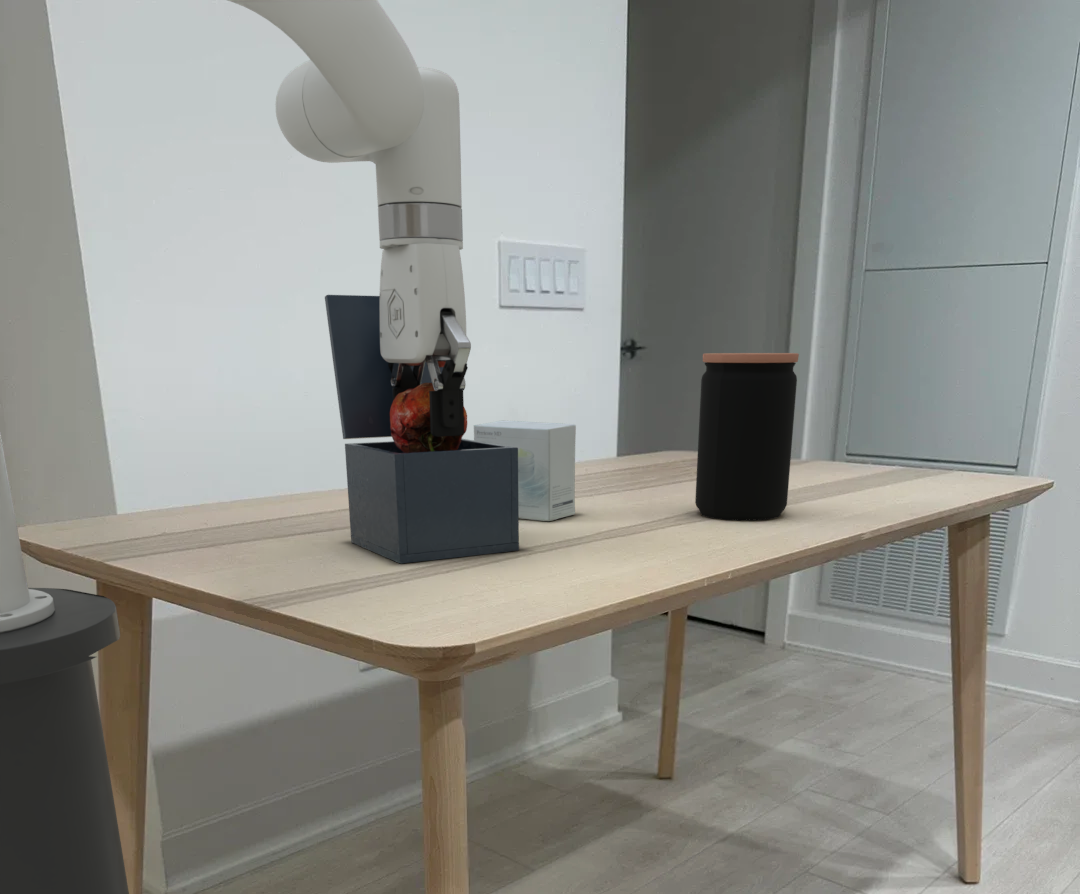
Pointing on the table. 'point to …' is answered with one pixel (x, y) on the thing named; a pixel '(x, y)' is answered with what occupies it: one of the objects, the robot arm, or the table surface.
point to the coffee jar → (745, 435)
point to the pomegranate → (418, 423)
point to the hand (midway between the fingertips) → (428, 431)
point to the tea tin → (433, 500)
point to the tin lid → (361, 366)
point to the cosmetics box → (539, 465)
